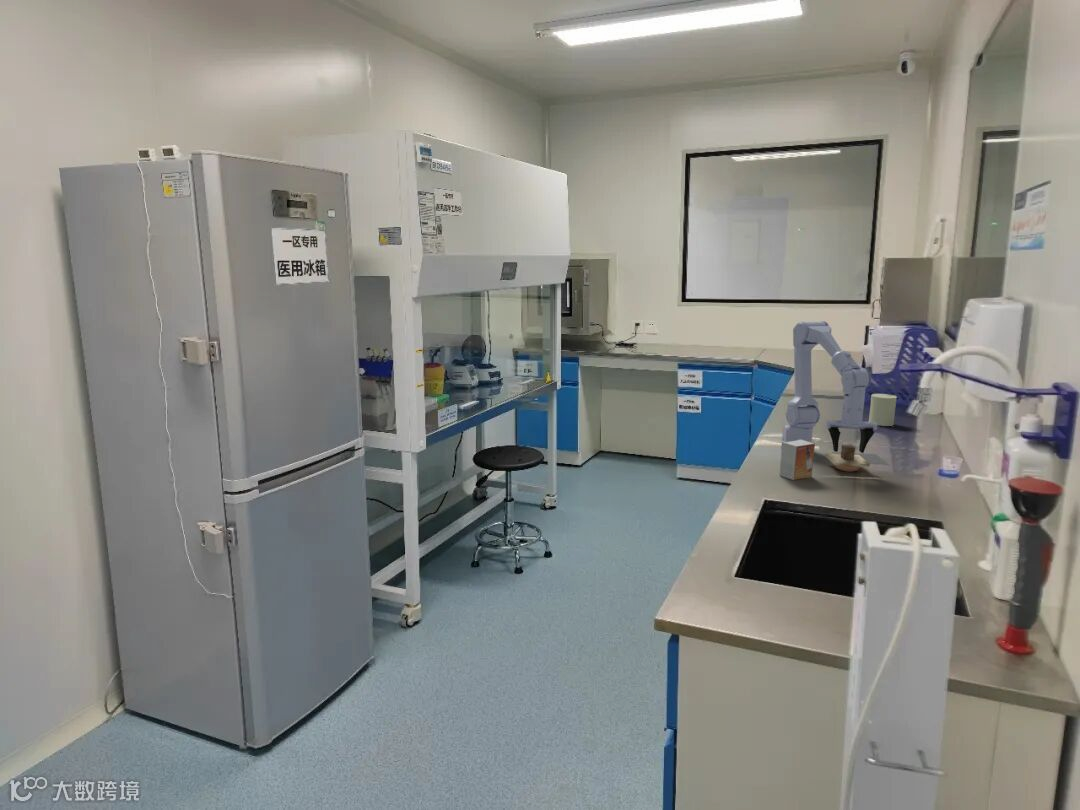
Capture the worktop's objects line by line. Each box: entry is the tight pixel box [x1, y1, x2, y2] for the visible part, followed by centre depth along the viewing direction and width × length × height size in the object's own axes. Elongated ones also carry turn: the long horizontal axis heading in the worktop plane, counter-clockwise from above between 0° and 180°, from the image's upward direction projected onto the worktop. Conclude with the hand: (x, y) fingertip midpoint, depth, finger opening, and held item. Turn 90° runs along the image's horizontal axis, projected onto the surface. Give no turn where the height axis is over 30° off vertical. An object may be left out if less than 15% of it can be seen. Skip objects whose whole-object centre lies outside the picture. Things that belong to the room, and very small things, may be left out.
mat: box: [831, 451, 890, 466], centre depth 225 cm, size 14×12×1 cm
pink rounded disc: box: [834, 465, 860, 473], centre depth 213 cm, size 7×7×3 cm
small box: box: [779, 440, 816, 481], centre depth 207 cm, size 8×6×10 cm
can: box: [868, 393, 898, 427], centre depth 274 cm, size 9×9×12 cm
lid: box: [825, 444, 871, 467], centre depth 213 cm, size 10×10×5 cm
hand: (848, 451), depth 212 cm, fingers open, 7 cm apart
